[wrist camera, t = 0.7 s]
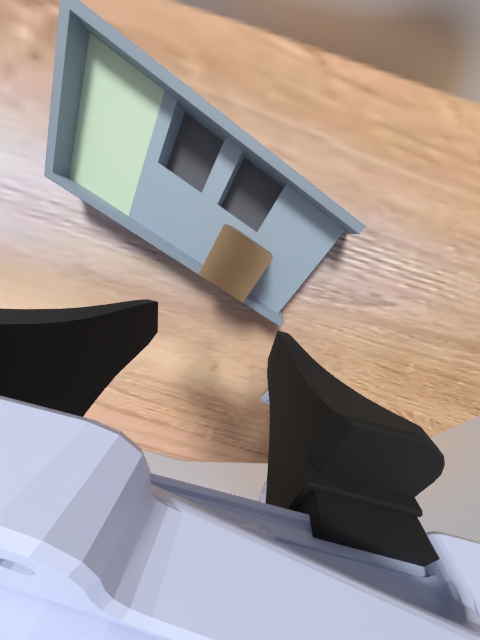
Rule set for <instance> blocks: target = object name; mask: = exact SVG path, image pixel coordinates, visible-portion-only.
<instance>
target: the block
mask: <svg viewBox="0 0 480 640" xmlns="http://www.w3.org/2000/svg"><path fill="white" fill-rule="evenodd" d="M272 259H273V256H272V254H271V253H270V252H269V251H268V250H266V249H265V248H263V247H262V246H260V245H259V244H258V243H256V242H255V241H253V240H252V239H250V238H249V237H248V236H246V235H245V234H243V233H242V232H240V231H239V230H238V229H236V228H235V227H233V226H230V225H226V224H224V225H223V227H222V229H221V231H220V233H219V235H218V237H217V239H216V241H215V243H214V245H213V247H212V249H211V251H210V253H209V255H208V256H207V258H206V260H205V262H204V264H203V266H202V268H201V270H200V272H199V274H198V275H200V276H201V277H203V278H204V279H206V280H208V281H209V282H211V283H212V284H214V285H215V286H217V287H218V288H220V289H222V290H223V291H225V292H226V293H228V294H229V295H231V296H233V297H234V298H236V299H237V300H239V301H240V302H242V303H243V302H244V300H245V299H246V297H247V296H248V294H249V293H250V291H251V290H252V288H253V287H254V286H255V284H256V283H257V281H258V280H259V278H260V277H261V275H262V274H263V272H264V271H265V269H266V268H267V266H268V265H269V264H270V262H271V261H272Z"/></svg>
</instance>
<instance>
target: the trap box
mask: <svg viewBox="0 0 480 640" xmlns="http://www.w3.org/2000/svg"><path fill="white" fill-rule="evenodd" d="M44 176H45V177H47V178H48V179H50V180H52V181H53V182H55V183H56V184H58V185H59V186H61V187H62V188H64V189H66V190H67V191H69V192H70V193H72V194H73V195H75V196H77V197H78V198H80V199H81V200H83V201H84V202H86V203H87V204H89V205H91V206H92V207H94V208H95V209H97V210H98V211H100V212H102V213H103V214H105V215H106V216H108V217H109V218H111V219H113V220H114V221H116V222H117V223H119V224H120V225H122V226H123V227H125V228H127V229H128V230H130V231H131V232H133V233H134V234H136V235H138V236H139V237H141V238H142V239H144V240H145V241H147V242H148V243H150V244H152V245H153V246H155V247H156V248H158V249H159V250H161V251H163V252H164V253H166V254H167V255H169V256H170V257H172V258H173V259H175V260H177V261H178V262H180V263H181V264H183V265H184V266H186V267H188V268H189V269H191V270H192V271H194V272H195V273H197V274H199V272H200V270H201V268H202V266H203V264H204V262H205V260H206V258H207V256H208V255H209V253H210V251H211V249H212V247H213V245H214V243H215V241H216V239H217V237H218V235H219V233H220V231H221V229H222V227H223V225H224V224H226V225H230V226H233V227H235V228H236V229H238V230H239V231H240V232H242V233H243V234H245V235H246V236H248V237H249V238H250V239H252V240H253V241H255V242H256V243H258V244H259V245H260V246H262V247H263V248H265V249H266V250H268V251H269V252H270V253H271V254H272V256H273V259H272V261H271V262H270V264H269V265H268V266H267V268H266V269H265V271H264V272H263V274H262V275H261V277H260V278H259V280H258V281H257V283H256V284H255V286H254V287H253V288H252V290H251V291H250V293H249V294H248V296H247V297H246V299H245V300H244V302H243V303H244V304H245V305H247V306H248V307H250V308H252V309H253V310H255V311H256V312H258V313H259V314H261V315H263V316H264V317H266V318H267V319H269V320H270V321H272V322H274V323H275V324H277V325H278V326H280V327H281V326H282V324H283V323H284V319H283V315H282V311H281V309H282V308H283V307H284V305H285V304H286V303H287V302H288V301H289V299H290V298H291V297H292V296H293V294H294V293H295V292H296V291H297V289H298V288H299V287H300V286H301V284H302V283H303V282H304V281H305V279H306V278H307V277H308V276H309V275H310V273H311V272H312V271H313V270H314V268H315V267H316V266H317V265H318V263H319V262H320V261H321V260H322V258H323V257H324V256H325V255H326V253H327V252H328V251H329V250H330V249H331V247H332V246H333V245H334V244H335V242H336V241H337V240H338V239H339V237H340V236H341V235H342V234H360V232H361V231H362V230H363V229H364V228H365V227H366V226H365V225H363V224H362V223H361V222H360V221H358V220H357V219H356V218H355V217H353V216H352V215H351V214H349V213H348V212H347V211H346V210H344V209H343V208H342V207H341V206H339V205H338V204H337V203H336V202H334V201H333V200H332V199H330V198H329V197H328V196H327V195H325V194H324V193H323V192H322V191H320V190H319V189H318V188H316V187H315V186H314V185H313V184H311V183H310V182H309V181H308V180H306V179H305V178H304V177H303V176H301V175H300V174H299V173H297V172H296V171H295V170H294V169H292V168H291V167H290V166H289V165H287V164H286V163H285V162H284V161H282V160H281V159H280V158H278V157H277V156H276V155H275V154H273V153H272V152H271V151H270V150H268V149H267V148H266V147H264V146H263V145H262V144H261V143H259V142H258V141H257V140H256V139H254V138H253V137H252V136H251V135H249V134H248V133H247V132H245V131H244V130H243V129H242V128H240V127H239V126H238V125H237V124H235V123H234V122H233V121H232V120H230V119H229V118H228V117H226V116H225V115H224V114H223V113H221V112H220V111H219V110H218V109H216V108H215V107H214V106H212V105H211V104H210V103H209V102H207V101H206V100H205V99H204V98H202V97H201V96H200V95H199V94H197V93H196V92H195V91H193V90H192V89H191V88H190V87H188V86H187V85H186V84H185V83H183V82H182V81H181V80H180V79H178V78H177V77H176V76H174V75H173V74H172V73H171V72H169V71H168V70H167V69H166V68H164V67H163V66H162V65H160V64H159V63H158V62H157V61H155V60H154V59H153V58H152V57H150V56H149V55H148V54H147V53H145V52H144V51H143V50H141V49H140V48H139V47H138V46H136V45H135V44H134V43H133V42H131V41H130V40H129V39H128V38H126V37H125V36H124V35H122V34H121V33H120V32H119V31H117V30H116V29H115V28H114V27H112V26H111V25H110V24H108V23H107V22H106V21H105V20H103V19H102V18H101V17H100V16H98V15H97V14H96V13H95V12H93V11H92V10H91V9H89V8H88V7H87V6H86V5H84V4H83V3H82V2H81V1H79V0H60V6H59V17H58V28H57V39H56V50H55V62H54V73H53V84H52V95H51V107H50V118H49V129H48V140H47V151H46V163H45V174H44Z"/></svg>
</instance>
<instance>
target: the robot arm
mask: <svg viewBox="0 0 480 640" xmlns="http://www.w3.org/2000/svg"><path fill="white" fill-rule="evenodd" d="M157 332H158V302H156V301H152V300H134V301H127V302H120V303H114V304H106V305H98V306H90V307H80V308H66V309H0V640H480V543H479V542H476V541H473V540H469V539H465V538H461V537H458V536H454V535H450V534H446V533H442V532H426V533H425V531H424V529H423V527H422V525H421V523H420V522H419V520H418V518H417V517H421V516H422V510H421V508H420V506H419V504H418V503H417V501H416V499H415V496H417V495H418V494H419V493H420V492H421V491H423V490H424V489H425V488H427V487H428V486H429V485H431V484H432V483H433V482H434V481H435V480H436V479H437V478H438V477H439V476H440V475H441V473H442V471H443V468H444V465H445V462H444V456H443V454H442V453H441V451H440V450H439V449H438V447H437V446H436V445H435V444H434V443H433V441H432V440H431V439H430V438H429V436H428V435H427V434H426V433H425V431H424V430H423V429H422V428H421V427H420V426H418V425H416V424H414V423H412V422H410V421H408V420H406V419H405V418H403V417H401V416H399V415H397V414H395V413H393V412H391V411H389V410H387V409H385V408H383V407H381V406H379V405H378V404H376V403H374V402H372V401H371V400H369V399H367V398H365V397H364V396H362V395H361V394H359V393H357V392H356V391H354V390H353V389H351V388H350V387H348V386H347V385H345V384H344V383H342V382H341V381H339V380H338V379H337V378H335V377H334V376H333V375H331V374H330V373H329V372H328V371H326V370H325V369H324V368H323V367H322V366H320V365H319V364H318V363H317V362H316V361H315V360H314V359H313V358H312V357H311V356H310V355H309V354H308V353H307V352H306V351H305V350H304V349H303V348H302V347H301V346H300V345H299V344H298V343H297V342H296V341H295V340H294V339H293V337H292V336H291V335H289V334H288V333H285V332H281V331H277V334H276V337H275V340H274V343H273V346H272V349H271V352H270V355H269V358H268V368H267V378H268V390H267V391H266V392H265V393H264V394H263V395H262V396H261V400H262V401H263V402H265V403H266V404H268V405H270V436H269V458H268V475H267V481H266V482H265V484H264V486H263V489H262V492H261V496H260V499H259V502H258V501H254V500H251V499H247V498H243V497H239V496H236V495H232V494H227V493H224V492H220V491H217V490H213V489H209V488H205V487H201V486H197V485H193V484H190V483H186V482H182V481H178V480H175V479H171V478H167V477H163V476H159V475H156V474H152V473H150V469H149V466H148V463H147V461H146V459H145V456H144V454H143V452H142V449H141V448H140V447H139V446H138V445H136V444H135V443H134V442H133V441H132V440H131V439H129V438H128V437H127V436H126V435H125V434H123V433H122V432H121V431H119V430H116V429H114V428H112V427H109V426H107V425H105V424H102V423H100V422H98V421H95V420H92V419H88V418H85V417H83V416H84V414H85V413H86V412H87V410H88V409H89V408H90V407H91V405H92V404H93V403H94V402H95V400H96V399H97V398H98V396H99V395H100V394H101V393H102V392H103V390H104V389H105V388H106V387H107V386H108V384H109V383H110V382H111V381H112V380H113V378H114V377H115V376H116V375H117V374H118V373H119V372H120V371H121V370H122V369H123V368H124V367H125V366H126V365H127V364H128V363H129V362H130V361H131V360H133V359H134V358H135V357H136V356H137V355H138V354H139V353H140V352H141V351H142V350H143V349H144V348H145V347H146V346H147V345H148V344H149V343H150V341H151V340H152V339H153V337H154V336H155V335H156V333H157Z"/></svg>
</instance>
